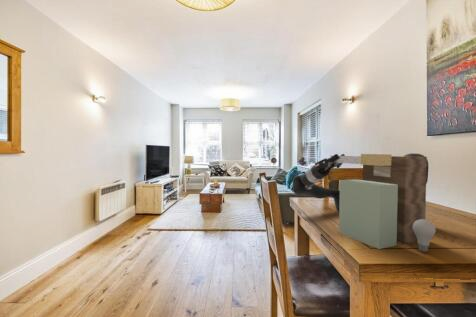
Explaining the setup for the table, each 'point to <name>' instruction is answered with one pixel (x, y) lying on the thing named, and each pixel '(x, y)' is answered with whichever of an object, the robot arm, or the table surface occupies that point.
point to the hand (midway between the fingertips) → (340, 155)
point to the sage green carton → (369, 212)
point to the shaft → (366, 159)
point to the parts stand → (404, 190)
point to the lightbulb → (423, 233)
